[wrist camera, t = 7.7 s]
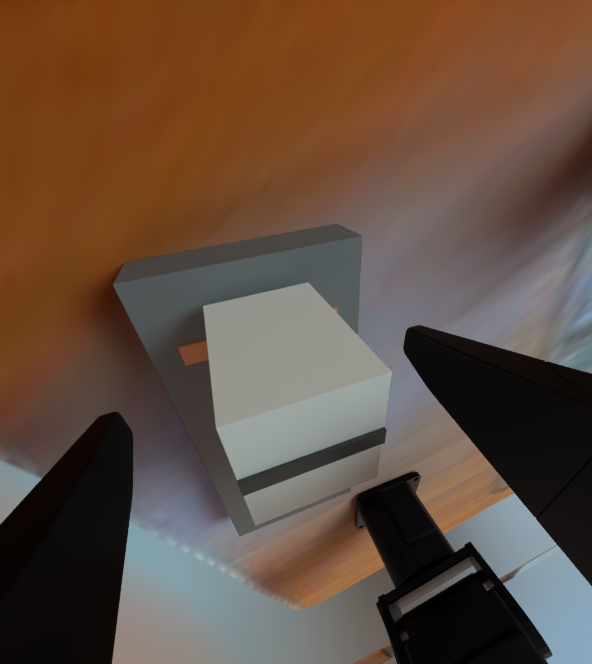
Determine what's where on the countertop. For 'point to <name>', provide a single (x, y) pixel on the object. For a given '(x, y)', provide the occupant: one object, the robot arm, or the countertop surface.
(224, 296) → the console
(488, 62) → the countertop surface
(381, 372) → the block
